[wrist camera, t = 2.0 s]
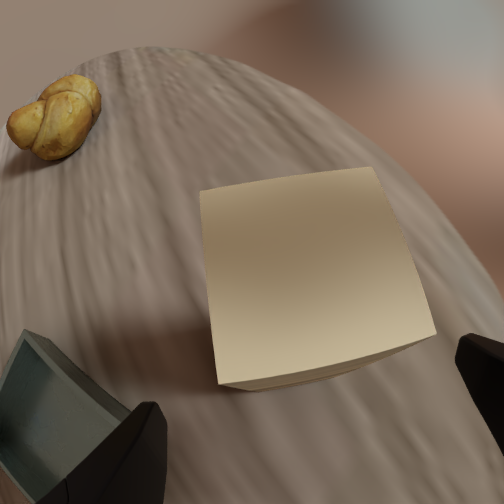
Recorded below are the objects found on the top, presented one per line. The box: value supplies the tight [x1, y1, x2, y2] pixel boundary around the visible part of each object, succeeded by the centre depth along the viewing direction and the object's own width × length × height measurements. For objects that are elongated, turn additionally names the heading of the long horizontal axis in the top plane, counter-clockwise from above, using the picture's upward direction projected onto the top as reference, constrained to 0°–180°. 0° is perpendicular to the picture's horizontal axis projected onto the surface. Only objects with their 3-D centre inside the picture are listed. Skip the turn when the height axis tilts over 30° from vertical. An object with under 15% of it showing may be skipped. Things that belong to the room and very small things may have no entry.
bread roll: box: [6, 74, 101, 160], centre depth 27 cm, size 13×10×8 cm
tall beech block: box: [199, 167, 436, 392], centre depth 12 cm, size 4×4×12 cm
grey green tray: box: [0, 329, 131, 504], centre depth 14 cm, size 11×11×3 cm
